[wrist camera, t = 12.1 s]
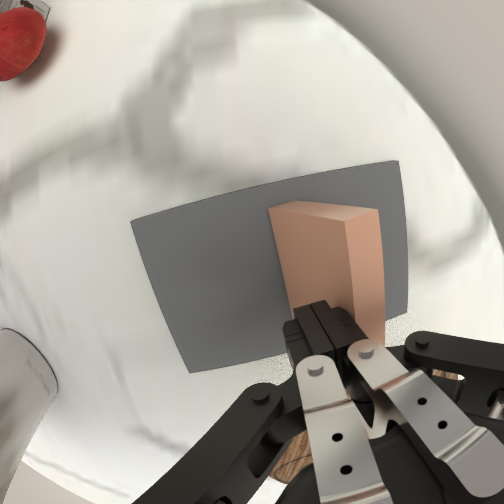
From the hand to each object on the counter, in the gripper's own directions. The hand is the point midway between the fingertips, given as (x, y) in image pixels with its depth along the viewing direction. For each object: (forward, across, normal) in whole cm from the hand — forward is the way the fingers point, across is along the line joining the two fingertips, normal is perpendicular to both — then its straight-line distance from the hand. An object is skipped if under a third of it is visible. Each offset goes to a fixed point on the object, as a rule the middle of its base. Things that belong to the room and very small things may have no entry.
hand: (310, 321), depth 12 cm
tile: (+6, -1, 0) cm, 6 cm away
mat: (+6, 0, 0) cm, 6 cm away
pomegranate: (+6, +14, -22) cm, 27 cm away
